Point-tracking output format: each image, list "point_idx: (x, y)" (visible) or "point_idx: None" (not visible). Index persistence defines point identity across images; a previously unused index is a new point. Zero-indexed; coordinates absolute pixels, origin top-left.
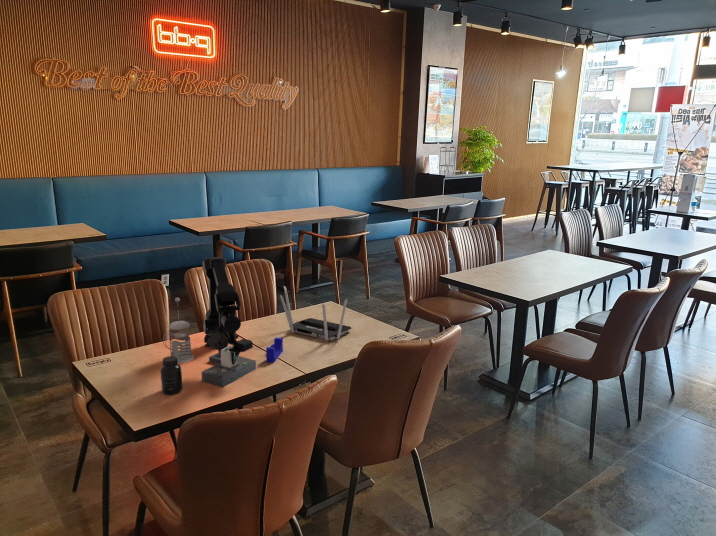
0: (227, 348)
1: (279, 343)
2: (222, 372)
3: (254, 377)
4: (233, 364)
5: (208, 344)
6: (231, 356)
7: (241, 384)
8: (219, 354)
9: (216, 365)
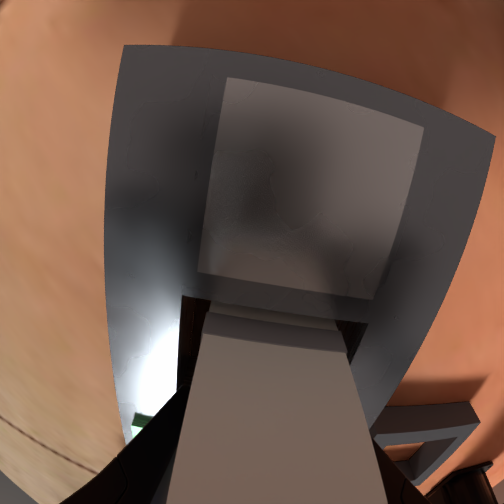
0: None
1: None
2: (210, 175)
3: (65, 329)
4: (179, 389)
5: (481, 472)
6: (154, 480)
7: (56, 193)
8: (429, 461)
9: (405, 343)
